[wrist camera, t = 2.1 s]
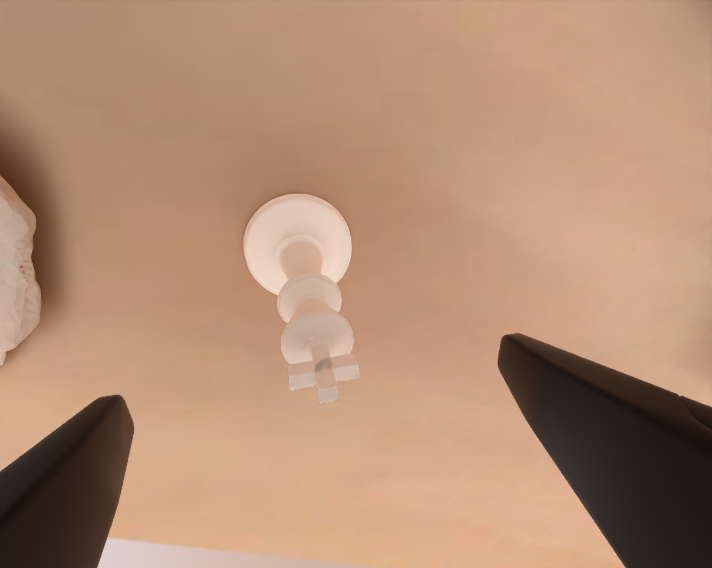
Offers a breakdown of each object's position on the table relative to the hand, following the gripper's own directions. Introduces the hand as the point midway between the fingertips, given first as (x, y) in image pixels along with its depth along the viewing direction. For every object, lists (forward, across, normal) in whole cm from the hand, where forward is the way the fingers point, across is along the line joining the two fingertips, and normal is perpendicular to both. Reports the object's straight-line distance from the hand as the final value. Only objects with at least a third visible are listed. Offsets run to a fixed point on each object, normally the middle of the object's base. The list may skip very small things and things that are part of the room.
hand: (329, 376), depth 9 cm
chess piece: (+10, 0, 0) cm, 10 cm away
